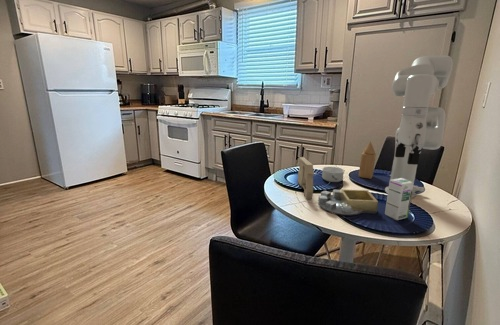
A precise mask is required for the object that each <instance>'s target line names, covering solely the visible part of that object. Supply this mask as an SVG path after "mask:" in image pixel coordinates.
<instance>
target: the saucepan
mask: <svg viewBox="0 0 500 325" xmlns="http://www.w3.org/2000/svg"><path fill="white" fill-rule="evenodd" d="M321 170H322V174H321V178H322V179H323V180H324V181H326V182H328V183H329V182H330V183H339V182H341V181H343V180H344V174H345V169H344V168H341V167H337V166H323V167H322V168H321Z"/></svg>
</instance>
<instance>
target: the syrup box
mask: <svg viewBox="0 0 500 325" xmlns="http://www.w3.org/2000/svg"><path fill="white" fill-rule="evenodd" d="M414 183H415V181H414V182H412V181H410V180H407V179H403V178H399V179H393V180H390V179H389V182H388V186H389V189H388V193H387V197H386V204H385V209H384V210H385V211H384V214H385V216H387V217H389V218H391V219H392V220H395V221H399V220H403V219H408V217H409V212H410V207H411V202H412V198H411V196H412V190H413V185H414V186H415V184H414Z"/></svg>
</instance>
